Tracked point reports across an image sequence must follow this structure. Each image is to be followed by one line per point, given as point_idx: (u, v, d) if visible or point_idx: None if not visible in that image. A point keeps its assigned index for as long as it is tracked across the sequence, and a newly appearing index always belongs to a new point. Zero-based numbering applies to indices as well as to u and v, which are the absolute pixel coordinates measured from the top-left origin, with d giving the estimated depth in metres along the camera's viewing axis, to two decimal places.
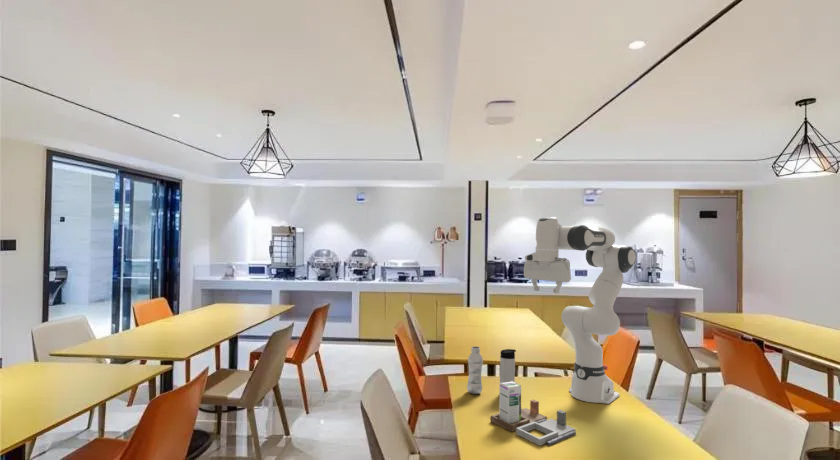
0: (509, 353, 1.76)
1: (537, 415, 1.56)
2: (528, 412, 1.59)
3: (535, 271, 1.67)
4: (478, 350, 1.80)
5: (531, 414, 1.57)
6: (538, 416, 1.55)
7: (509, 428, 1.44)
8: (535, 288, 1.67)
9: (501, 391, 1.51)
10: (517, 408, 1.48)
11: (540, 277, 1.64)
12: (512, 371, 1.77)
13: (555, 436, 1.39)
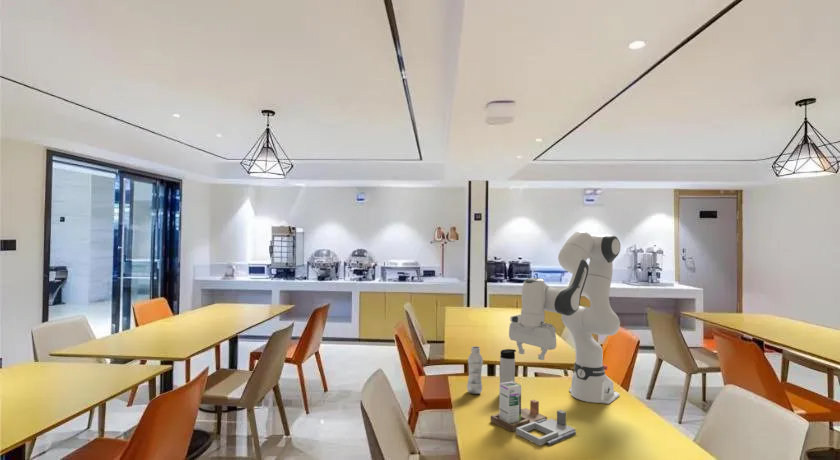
0: (509, 353, 1.76)
1: (537, 415, 1.56)
2: (528, 412, 1.59)
3: (520, 333, 1.61)
4: (478, 350, 1.80)
5: (531, 414, 1.57)
6: (538, 416, 1.55)
7: (509, 428, 1.44)
8: (520, 351, 1.61)
9: (501, 391, 1.51)
10: (517, 408, 1.48)
11: (525, 341, 1.58)
12: (512, 371, 1.77)
13: (555, 436, 1.39)
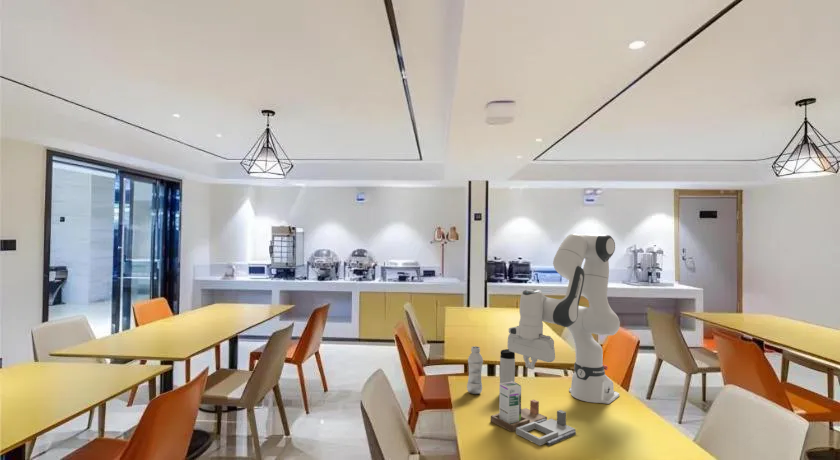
0: (509, 353, 1.76)
1: (537, 415, 1.56)
2: (528, 412, 1.59)
3: (518, 345, 1.60)
4: (478, 350, 1.80)
5: (531, 414, 1.57)
6: (538, 416, 1.55)
7: (509, 428, 1.44)
8: (527, 365, 1.57)
9: (501, 391, 1.51)
10: (517, 408, 1.48)
11: (524, 353, 1.58)
12: (512, 371, 1.77)
13: (555, 436, 1.39)
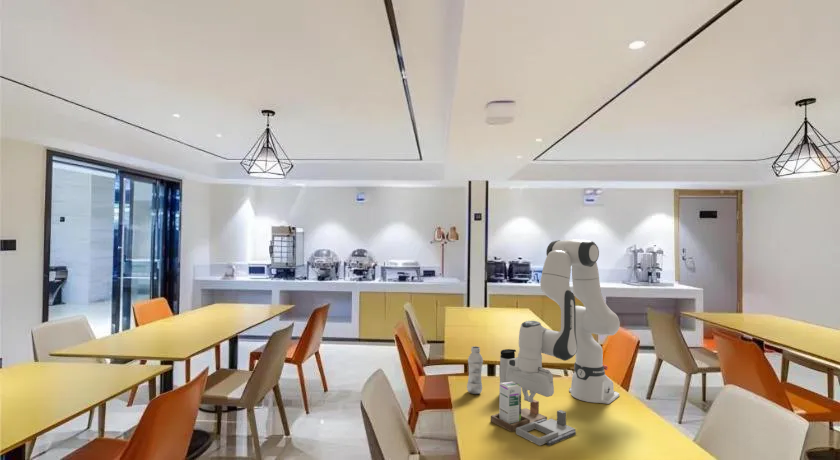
0: (509, 353, 1.76)
1: (537, 415, 1.56)
2: (528, 412, 1.59)
3: (517, 377, 1.59)
4: (478, 350, 1.80)
5: (531, 414, 1.57)
6: (538, 416, 1.55)
7: (509, 428, 1.44)
8: (525, 398, 1.57)
9: (501, 391, 1.51)
10: (517, 408, 1.48)
11: (522, 385, 1.57)
12: None
13: (555, 436, 1.39)
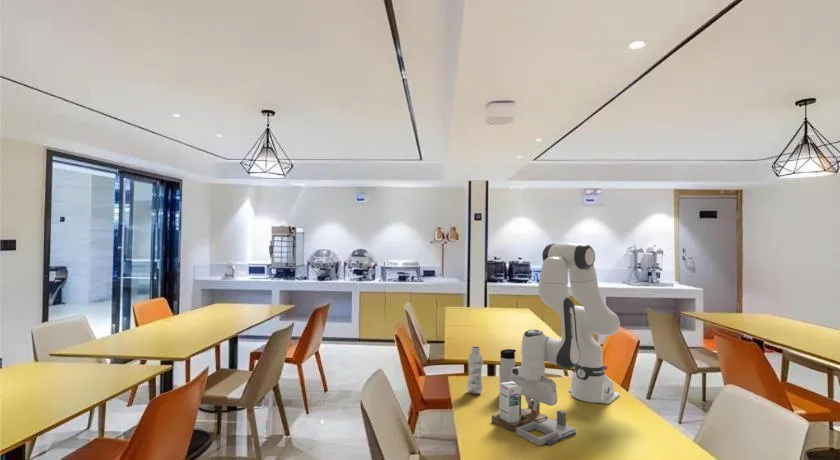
0: (509, 353, 1.76)
1: (538, 415, 1.56)
2: (529, 412, 1.59)
3: None
4: (478, 350, 1.80)
5: (532, 414, 1.57)
6: (539, 416, 1.55)
7: (510, 428, 1.44)
8: (529, 407, 1.58)
9: (501, 391, 1.51)
10: (517, 408, 1.48)
11: (526, 394, 1.58)
12: None
13: (555, 436, 1.39)
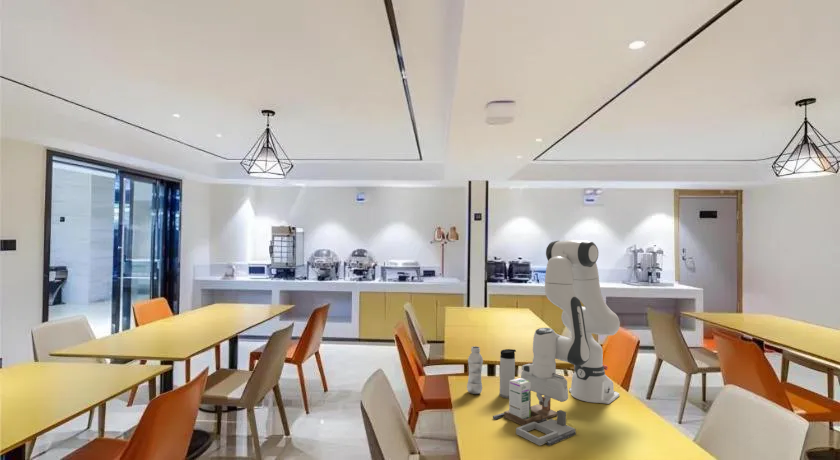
0: (509, 353, 1.76)
1: (549, 411, 1.60)
2: (540, 408, 1.63)
3: (532, 382, 1.64)
4: (478, 350, 1.80)
5: (543, 410, 1.61)
6: (550, 412, 1.59)
7: (523, 423, 1.48)
8: (540, 403, 1.62)
9: (511, 388, 1.54)
10: (527, 403, 1.53)
11: (537, 390, 1.62)
12: (512, 371, 1.77)
13: (555, 436, 1.39)
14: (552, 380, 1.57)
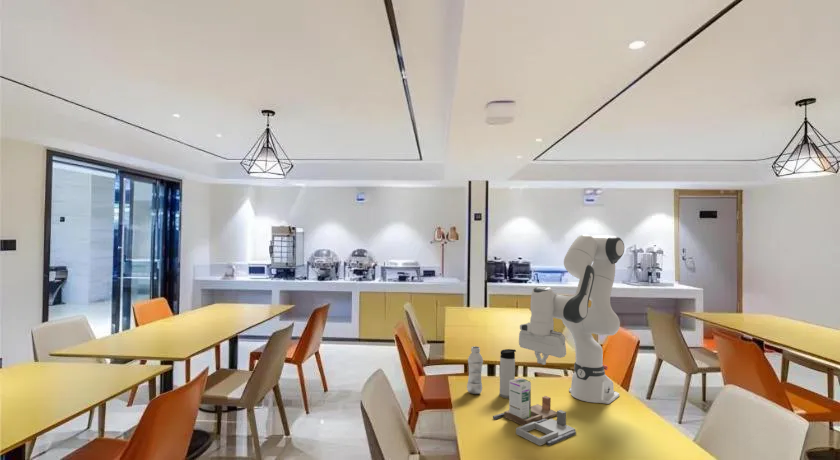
0: (509, 353, 1.76)
1: (549, 411, 1.60)
2: (540, 408, 1.63)
3: (530, 341, 1.64)
4: (478, 350, 1.80)
5: (543, 410, 1.61)
6: (550, 412, 1.59)
7: (523, 423, 1.48)
8: (538, 361, 1.61)
9: (512, 388, 1.54)
10: (527, 404, 1.53)
11: (535, 349, 1.62)
12: (512, 371, 1.77)
13: (555, 436, 1.39)
14: (550, 337, 1.56)
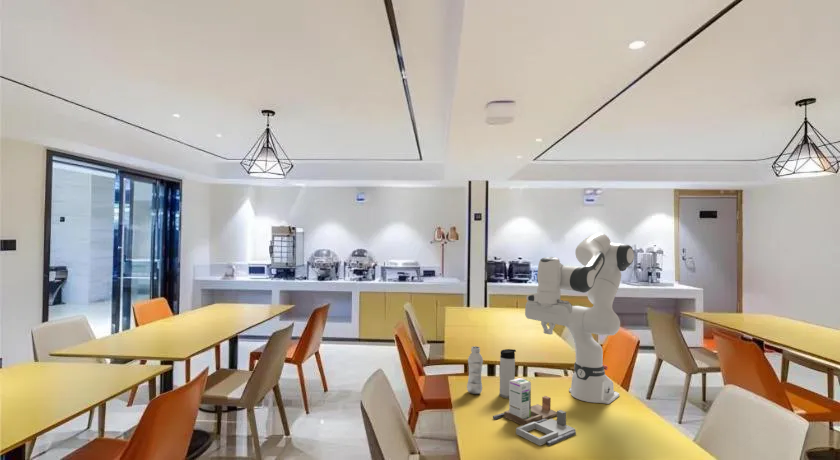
0: (509, 353, 1.76)
1: (549, 411, 1.60)
2: (540, 408, 1.63)
3: (536, 312, 1.64)
4: (478, 350, 1.80)
5: (543, 410, 1.61)
6: (550, 412, 1.59)
7: (523, 423, 1.48)
8: (545, 331, 1.61)
9: (512, 388, 1.54)
10: (527, 404, 1.53)
11: (542, 319, 1.61)
12: (512, 371, 1.77)
13: (555, 436, 1.39)
14: (557, 306, 1.56)
